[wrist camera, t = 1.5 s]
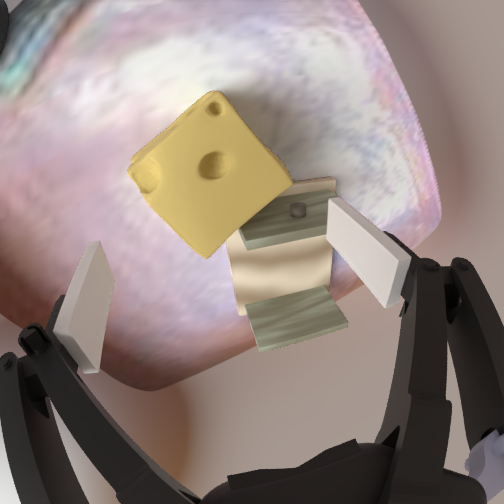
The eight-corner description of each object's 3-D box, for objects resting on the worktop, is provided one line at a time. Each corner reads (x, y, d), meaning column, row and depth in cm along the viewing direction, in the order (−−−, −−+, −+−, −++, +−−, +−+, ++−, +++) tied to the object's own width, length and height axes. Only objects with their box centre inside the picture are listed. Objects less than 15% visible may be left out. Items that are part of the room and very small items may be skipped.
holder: (218, 194, 32) (233, 233, 24) (330, 176, 34) (373, 207, 26) (237, 309, 42) (252, 359, 34) (324, 287, 44) (352, 329, 36)
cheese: (133, 154, 27) (113, 182, 19) (211, 85, 25) (225, 82, 17) (197, 216, 33) (205, 264, 25) (269, 156, 31) (304, 184, 23)
